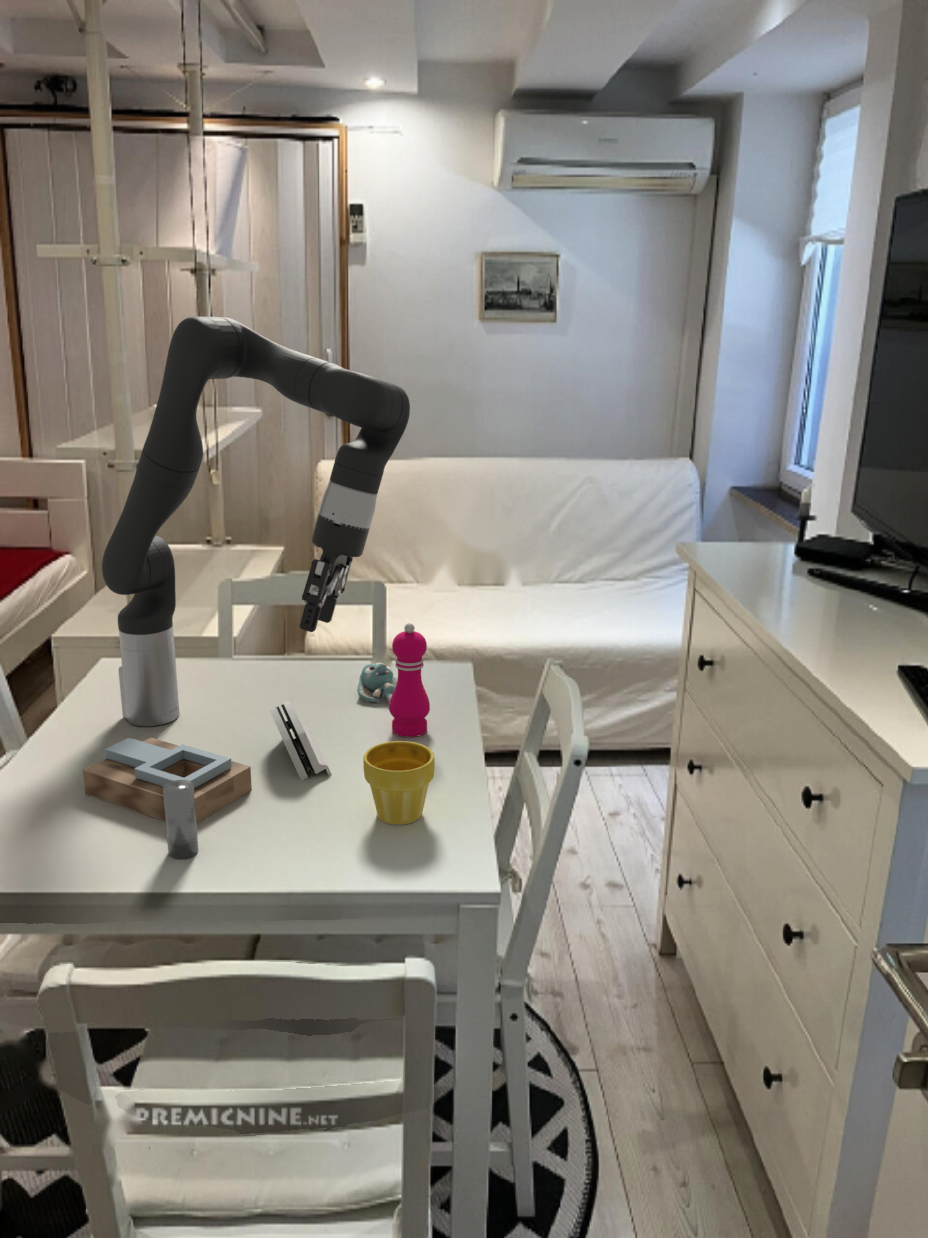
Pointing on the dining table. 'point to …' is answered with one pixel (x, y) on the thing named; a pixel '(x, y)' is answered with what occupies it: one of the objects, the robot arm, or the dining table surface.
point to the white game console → (299, 742)
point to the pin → (180, 819)
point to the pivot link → (166, 761)
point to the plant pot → (399, 779)
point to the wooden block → (148, 798)
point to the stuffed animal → (376, 682)
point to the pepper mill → (409, 685)
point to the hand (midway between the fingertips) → (315, 625)
